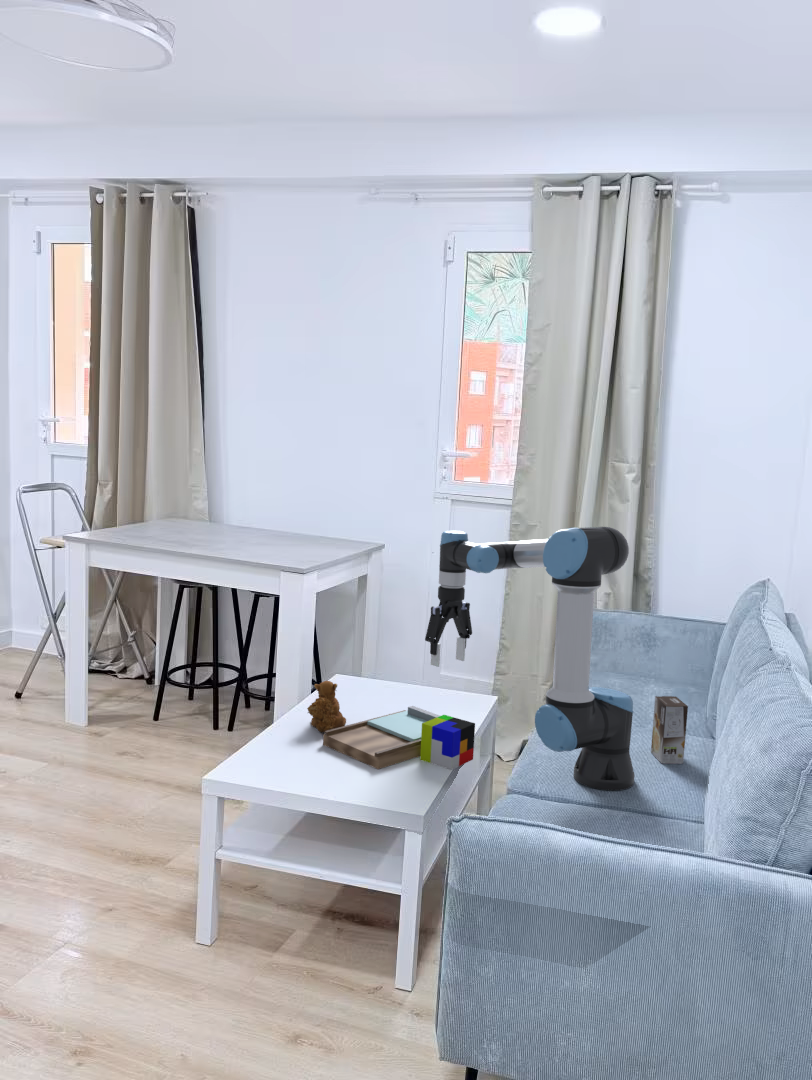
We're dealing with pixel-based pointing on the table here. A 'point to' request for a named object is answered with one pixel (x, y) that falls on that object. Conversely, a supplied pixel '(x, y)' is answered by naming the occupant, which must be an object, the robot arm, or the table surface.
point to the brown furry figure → (326, 708)
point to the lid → (404, 723)
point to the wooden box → (371, 744)
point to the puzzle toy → (447, 741)
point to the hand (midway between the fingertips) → (447, 662)
